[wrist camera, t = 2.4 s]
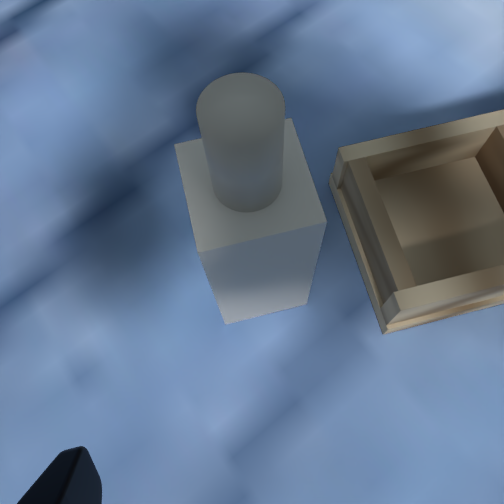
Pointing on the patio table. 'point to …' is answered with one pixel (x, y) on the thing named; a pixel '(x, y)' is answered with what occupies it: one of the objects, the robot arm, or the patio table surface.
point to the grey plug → (251, 199)
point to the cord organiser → (426, 219)
